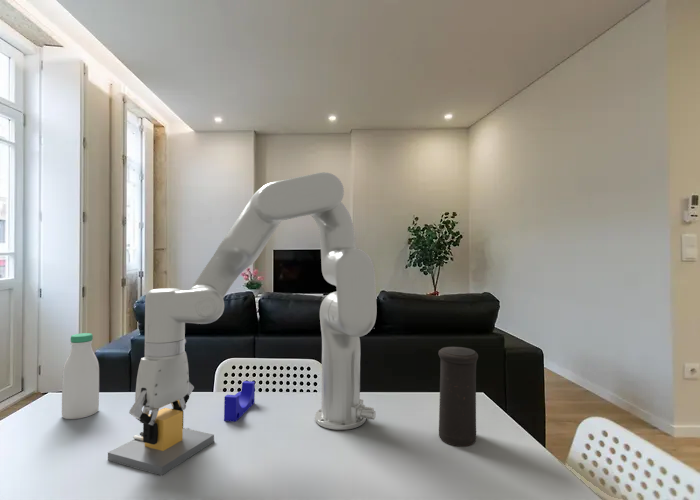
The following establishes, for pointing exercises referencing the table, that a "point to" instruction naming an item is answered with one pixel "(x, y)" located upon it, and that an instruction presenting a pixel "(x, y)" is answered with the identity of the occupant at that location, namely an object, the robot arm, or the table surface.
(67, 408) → the milk bottle
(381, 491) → the table surface
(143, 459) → the plate
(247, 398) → the blue arch bracket
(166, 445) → the mustard yellow cube
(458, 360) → the container
